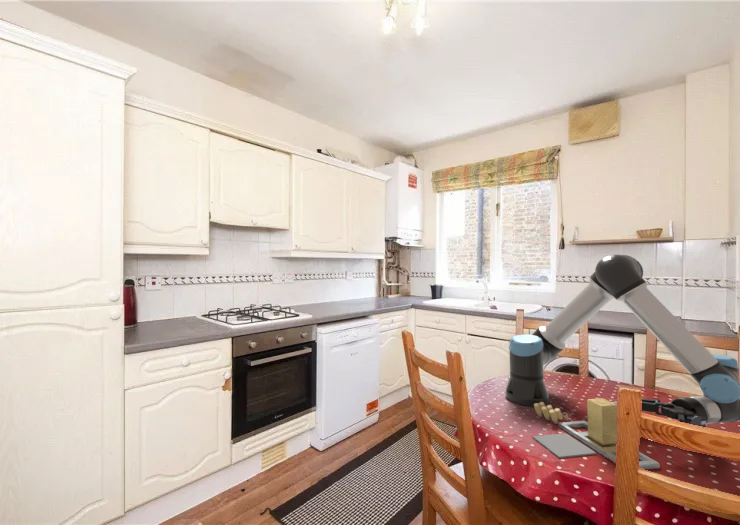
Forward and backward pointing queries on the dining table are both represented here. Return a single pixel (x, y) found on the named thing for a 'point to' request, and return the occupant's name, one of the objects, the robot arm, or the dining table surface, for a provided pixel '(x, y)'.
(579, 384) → the dining table surface
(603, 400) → the block
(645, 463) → the rail
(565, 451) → the mat
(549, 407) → the ammunition
